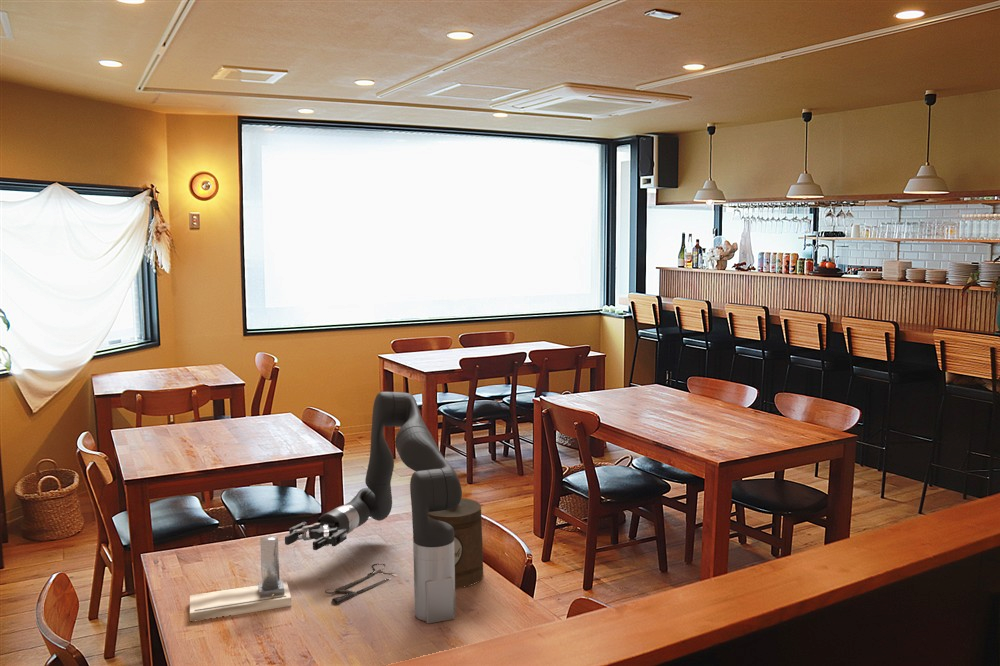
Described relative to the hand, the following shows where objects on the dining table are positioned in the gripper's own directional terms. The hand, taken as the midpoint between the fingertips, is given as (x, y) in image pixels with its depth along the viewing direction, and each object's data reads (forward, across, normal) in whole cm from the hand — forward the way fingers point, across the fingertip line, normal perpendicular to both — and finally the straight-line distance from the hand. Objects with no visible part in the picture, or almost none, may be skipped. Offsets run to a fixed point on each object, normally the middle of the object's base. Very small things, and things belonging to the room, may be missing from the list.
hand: (299, 543), depth 205 cm
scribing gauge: (+11, 0, +8) cm, 14 cm away
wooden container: (-18, +33, +10) cm, 39 cm away
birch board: (+16, -5, +10) cm, 19 cm away
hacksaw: (-5, +14, +10) cm, 18 cm away
